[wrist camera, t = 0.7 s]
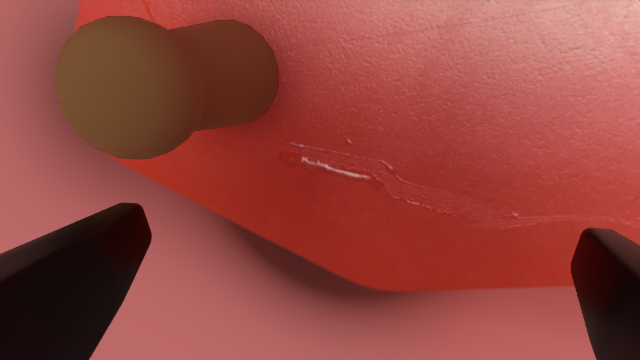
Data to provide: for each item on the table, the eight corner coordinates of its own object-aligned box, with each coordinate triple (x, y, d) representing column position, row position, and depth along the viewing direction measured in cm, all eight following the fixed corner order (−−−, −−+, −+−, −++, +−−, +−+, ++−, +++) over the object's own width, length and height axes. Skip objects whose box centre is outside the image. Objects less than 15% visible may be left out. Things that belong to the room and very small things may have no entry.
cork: (299, 76, 23) (222, 100, 13) (233, 144, 25) (120, 213, 15) (224, -5, 22) (77, -49, 12) (163, 72, 24) (-8, 92, 14)
